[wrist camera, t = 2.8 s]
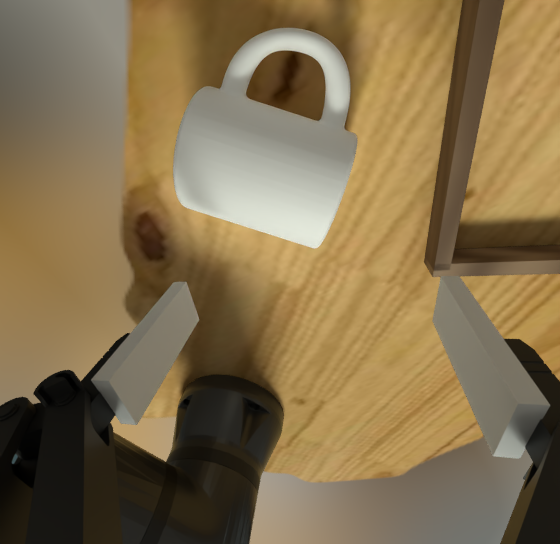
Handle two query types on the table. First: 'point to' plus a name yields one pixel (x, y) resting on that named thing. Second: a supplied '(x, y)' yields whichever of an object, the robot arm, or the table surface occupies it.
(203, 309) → the table surface
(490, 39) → the keyhole corral
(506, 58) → the table surface
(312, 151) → the mug
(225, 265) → the table surface
